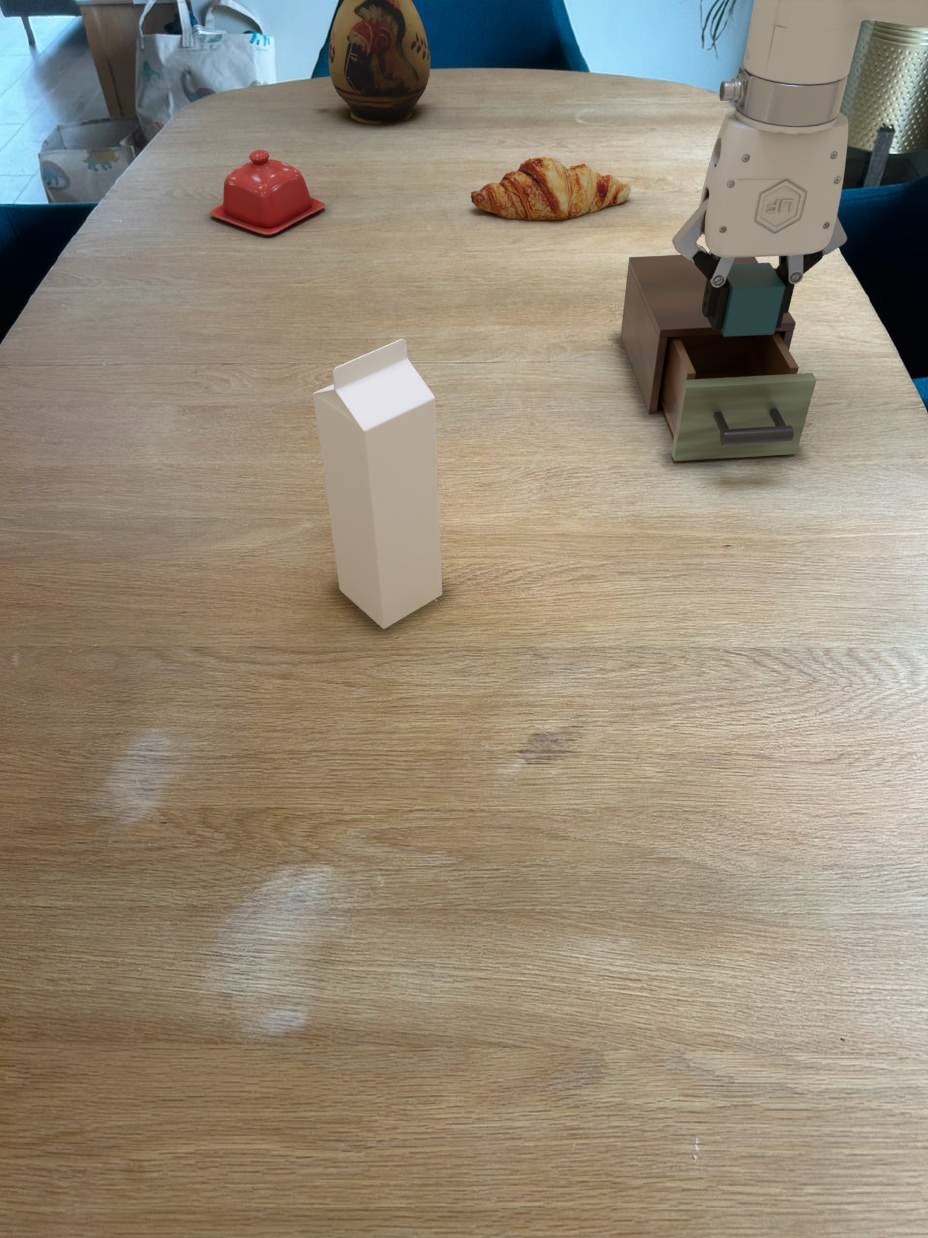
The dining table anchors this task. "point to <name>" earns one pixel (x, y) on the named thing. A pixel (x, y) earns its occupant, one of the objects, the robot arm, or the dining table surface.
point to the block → (752, 300)
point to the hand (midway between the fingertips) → (742, 319)
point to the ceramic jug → (379, 59)
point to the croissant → (550, 191)
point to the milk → (382, 482)
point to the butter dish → (265, 196)
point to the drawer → (733, 396)
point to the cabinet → (666, 316)
